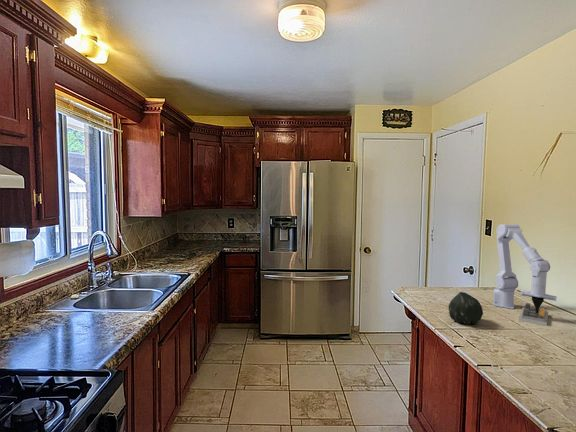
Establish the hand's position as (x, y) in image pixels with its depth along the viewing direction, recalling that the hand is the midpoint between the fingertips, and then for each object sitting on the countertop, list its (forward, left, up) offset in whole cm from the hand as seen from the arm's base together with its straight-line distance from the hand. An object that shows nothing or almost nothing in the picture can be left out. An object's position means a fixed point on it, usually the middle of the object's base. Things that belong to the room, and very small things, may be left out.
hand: (537, 312), depth 181 cm
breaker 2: (-4, -6, -1) cm, 7 cm away
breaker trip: (+2, 0, -1) cm, 2 cm away
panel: (-1, 0, -3) cm, 3 cm away
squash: (-27, -27, -3) cm, 38 cm away
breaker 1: (-4, +5, -1) cm, 7 cm away
